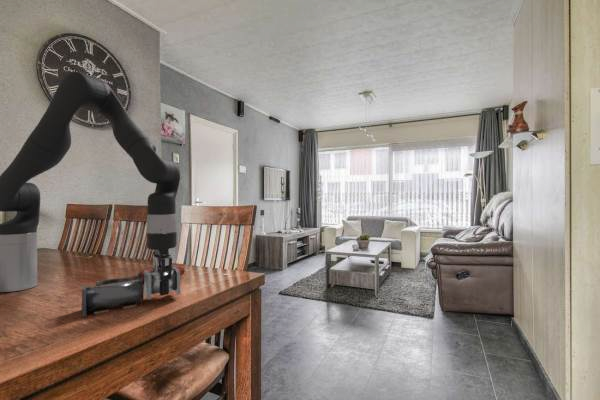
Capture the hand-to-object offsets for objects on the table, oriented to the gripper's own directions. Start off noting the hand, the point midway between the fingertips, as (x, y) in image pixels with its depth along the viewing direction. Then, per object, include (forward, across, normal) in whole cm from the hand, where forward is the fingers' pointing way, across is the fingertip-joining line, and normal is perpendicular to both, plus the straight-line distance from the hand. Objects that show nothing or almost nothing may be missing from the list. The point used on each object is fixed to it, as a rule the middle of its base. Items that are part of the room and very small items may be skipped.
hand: (162, 291), depth 81 cm
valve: (+3, -25, -1) cm, 25 cm away
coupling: (+1, 0, 0) cm, 1 cm away
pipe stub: (+2, 0, -11) cm, 11 cm away
